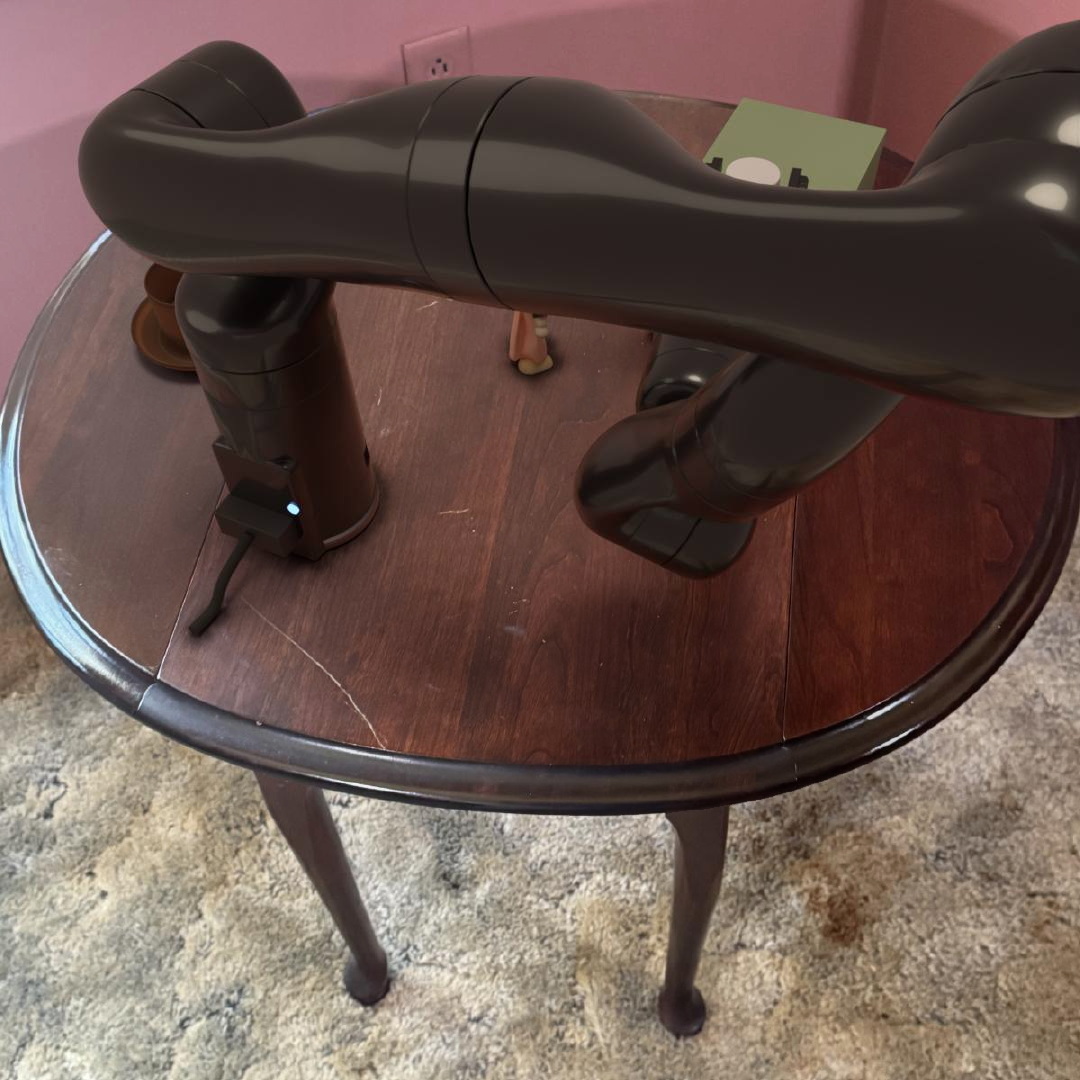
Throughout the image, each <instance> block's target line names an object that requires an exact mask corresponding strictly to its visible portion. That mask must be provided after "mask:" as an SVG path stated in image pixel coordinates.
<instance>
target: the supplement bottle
mask: <svg viewBox="0 0 1080 1080" xmlns="http://www.w3.org/2000/svg"><path fill="white" fill-rule="evenodd" d="M726 175H729V176H731V177H734V178H737V179H742V180H746V181H751V182H755V183H760V184H769V185H778V186H779V185H780V178H781V173H780V170H779V168H778V167H777V166H776V165H775V164H773V163H772V162H770V161H768V160H765V159H761V158H755V157H748V158H741V159H738V160H736V161H734V162H732V163H731V164H730V165H729V166H728V167H727V169H726Z"/></svg>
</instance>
